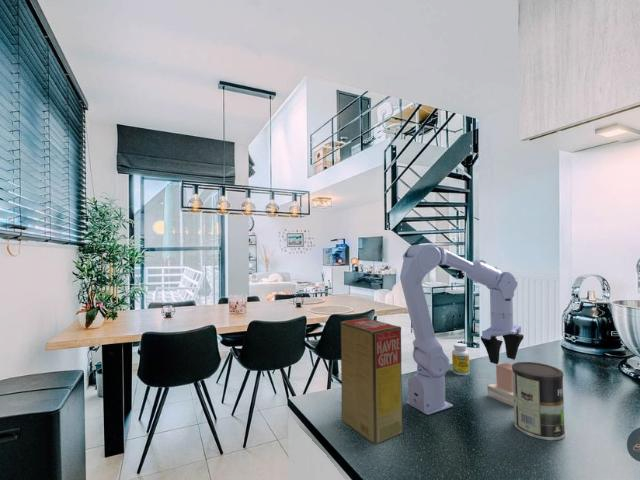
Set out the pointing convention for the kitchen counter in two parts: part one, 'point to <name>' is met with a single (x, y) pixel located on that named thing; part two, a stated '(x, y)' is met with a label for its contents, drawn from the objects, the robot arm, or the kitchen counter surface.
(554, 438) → the coffee can
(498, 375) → the terracotta block
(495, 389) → the base
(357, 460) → the kitchen counter surface
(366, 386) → the food packaging
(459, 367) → the supplement bottle
